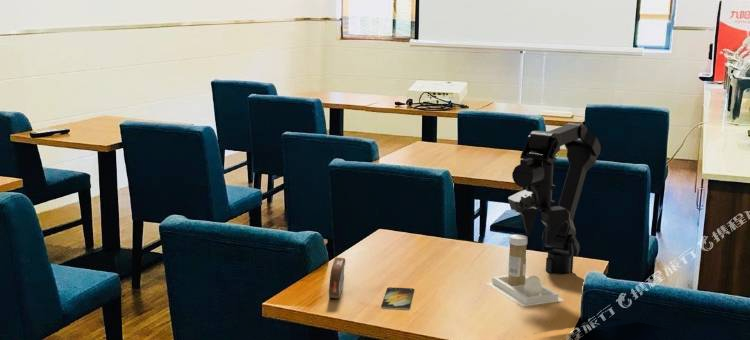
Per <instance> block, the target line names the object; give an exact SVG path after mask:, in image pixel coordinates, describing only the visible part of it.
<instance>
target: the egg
mask: <svg viewBox="0 0 750 340" xmlns="http://www.w3.org/2000/svg"><path fill="white" fill-rule="evenodd" d="M541 283H542V282H541V280H540V278H539V276H537V275H530V276H528V278H527V280H526V283H525V286H524V290H525V293H526V294H527V295H528V296H530V297H531V296H538V295H540V294H541V292H542V285H543V284H542V285H541Z"/></svg>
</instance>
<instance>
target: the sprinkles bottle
mask: <svg viewBox="0 0 750 340" xmlns="http://www.w3.org/2000/svg"><path fill="white" fill-rule="evenodd" d="M508 239H509V240H508V241H509V253H508V254H509V255H508V272H507V273H508V274H507V275H509V277H508V285H510V286H519V285H525V275H526V268H527V267H526V266H527V247H528V246H527V245H528V236H526V235H523V234H511V235H510V236H509V238H508Z"/></svg>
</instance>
